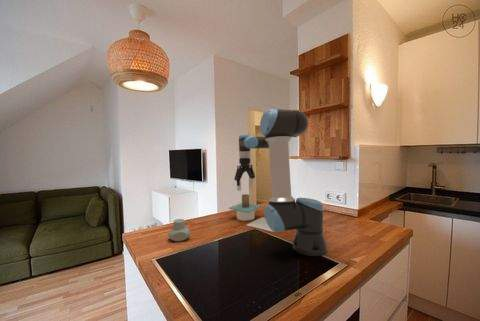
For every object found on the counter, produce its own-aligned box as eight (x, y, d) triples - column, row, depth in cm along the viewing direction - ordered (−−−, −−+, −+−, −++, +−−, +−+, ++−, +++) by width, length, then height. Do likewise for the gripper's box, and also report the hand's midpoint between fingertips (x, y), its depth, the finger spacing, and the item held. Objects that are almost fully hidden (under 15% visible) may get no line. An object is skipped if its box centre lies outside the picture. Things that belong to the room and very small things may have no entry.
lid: (248, 212, 135) (248, 198, 134) (229, 209, 145) (228, 195, 144) (261, 207, 147) (261, 194, 147) (243, 204, 157) (243, 191, 157)
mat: (272, 232, 120) (272, 231, 120) (245, 225, 132) (245, 224, 132) (287, 223, 135) (287, 222, 135) (262, 217, 147) (262, 217, 147)
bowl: (247, 222, 138) (247, 211, 137) (233, 219, 145) (233, 208, 145) (257, 217, 147) (257, 207, 147) (244, 214, 155) (243, 205, 154)
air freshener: (168, 243, 108) (167, 224, 108) (169, 237, 116) (168, 219, 115) (190, 240, 111) (190, 221, 110) (189, 234, 119) (189, 217, 118)
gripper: (250, 157, 156) (251, 186, 157) (228, 158, 137) (229, 191, 138) (259, 157, 152) (260, 187, 153) (237, 158, 132) (238, 192, 133)
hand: (245, 189), depth 145 cm, fingers open, 13 cm apart
